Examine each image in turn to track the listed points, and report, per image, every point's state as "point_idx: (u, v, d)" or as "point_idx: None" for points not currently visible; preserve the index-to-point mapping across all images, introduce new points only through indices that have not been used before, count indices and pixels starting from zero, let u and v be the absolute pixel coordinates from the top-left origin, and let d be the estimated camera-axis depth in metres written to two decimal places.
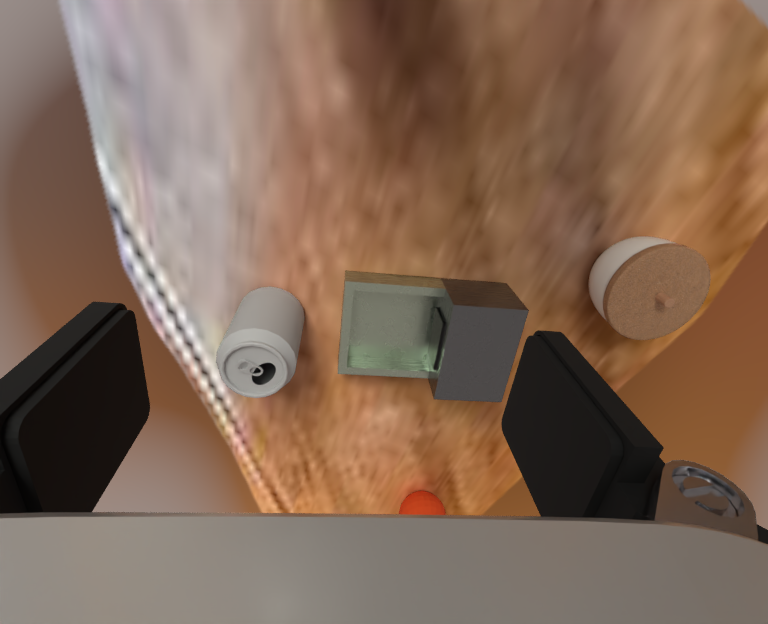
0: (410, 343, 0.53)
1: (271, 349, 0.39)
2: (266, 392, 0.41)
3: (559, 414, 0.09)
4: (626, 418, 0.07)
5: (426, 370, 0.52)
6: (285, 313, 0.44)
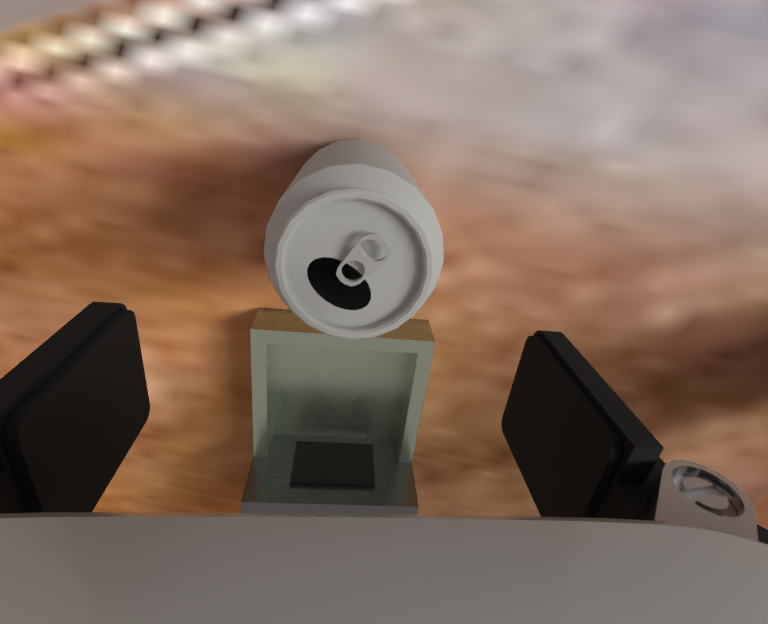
0: (302, 411, 0.34)
1: (413, 312, 0.18)
2: (290, 290, 0.17)
3: (559, 414, 0.09)
4: (626, 418, 0.07)
5: (267, 451, 0.32)
6: None
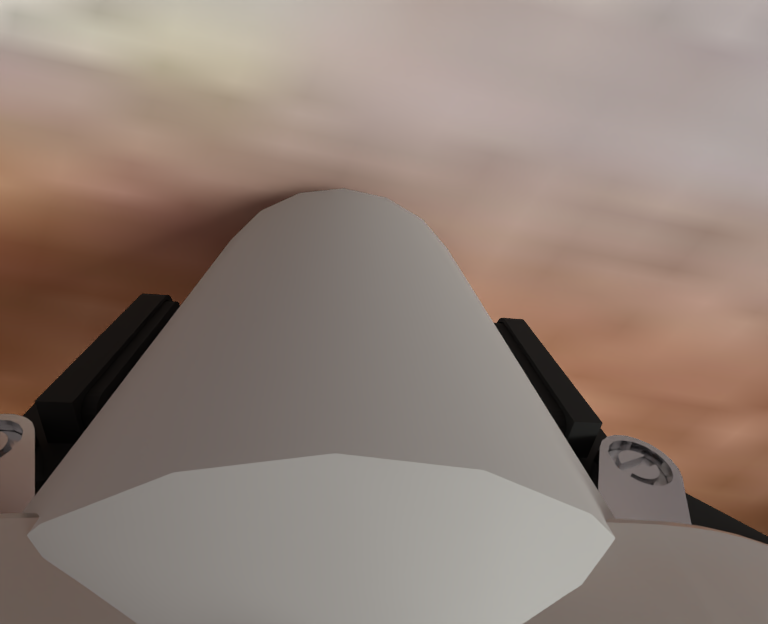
0: None
1: None
2: None
3: None
4: (571, 397, 0.08)
5: None
6: None
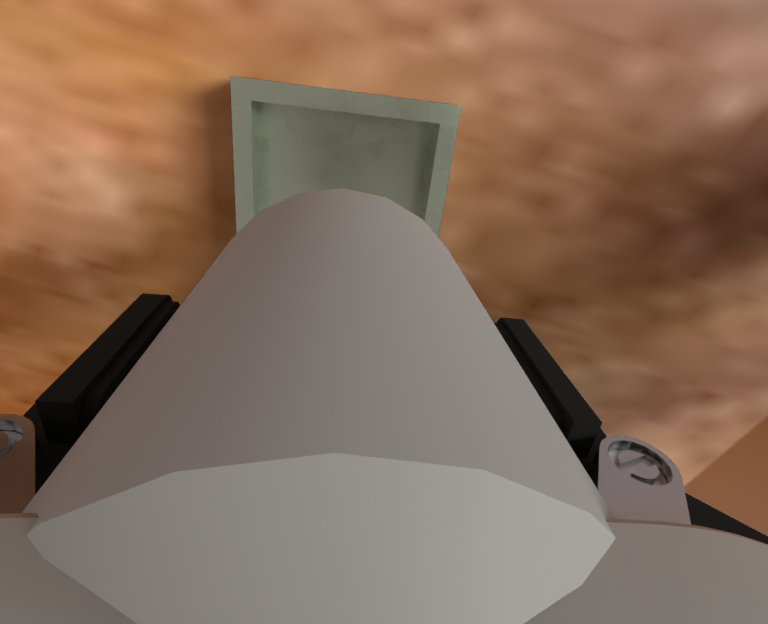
0: None
1: None
2: None
3: None
4: (571, 397, 0.08)
5: None
6: None
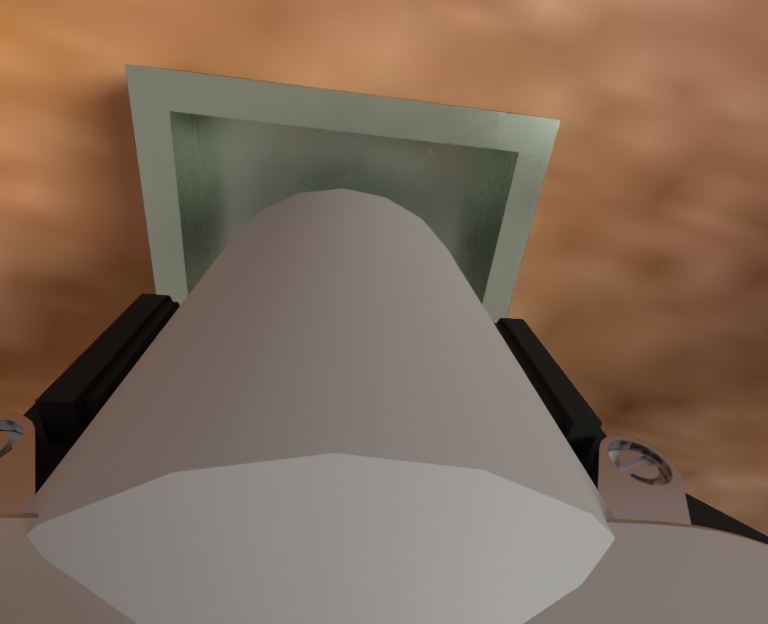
0: None
1: None
2: None
3: None
4: (571, 397, 0.08)
5: None
6: None
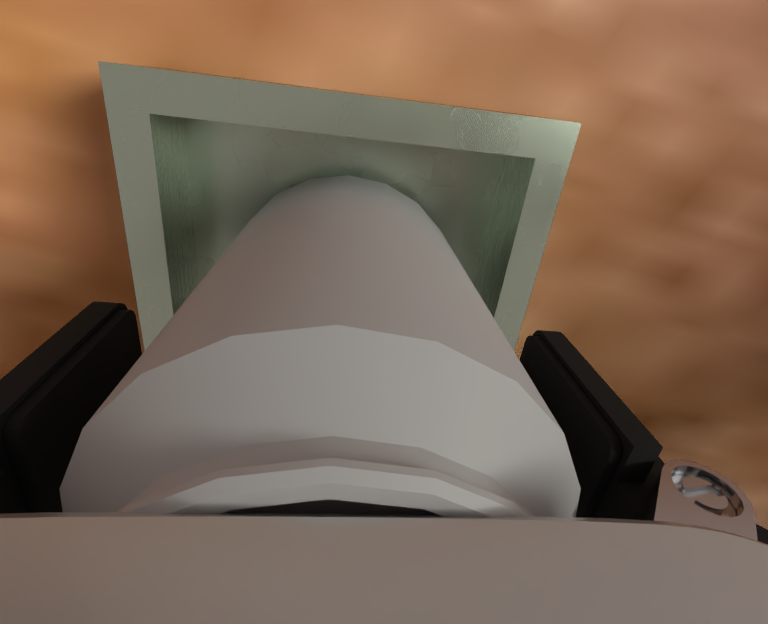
0: None
1: None
2: None
3: (558, 414, 0.09)
4: (625, 418, 0.07)
5: None
6: None
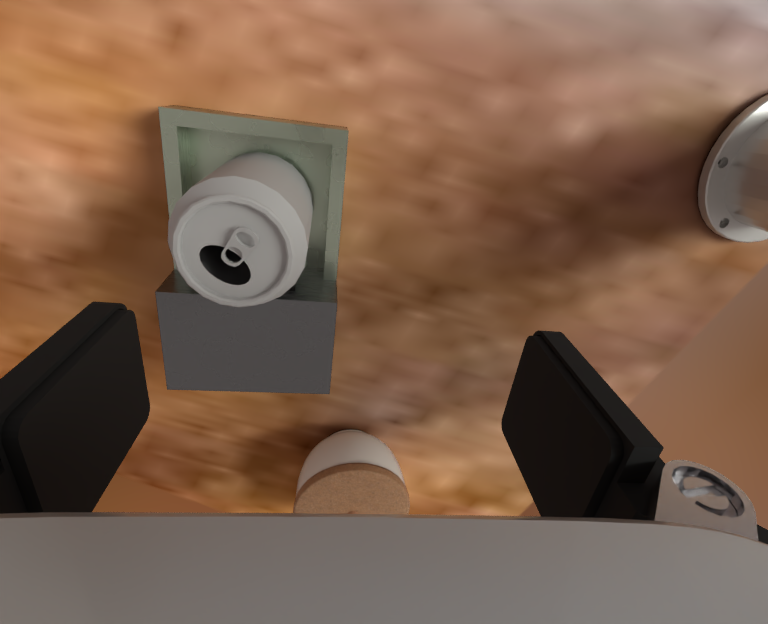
0: None
1: (282, 286, 0.24)
2: (186, 270, 0.23)
3: (559, 414, 0.09)
4: (626, 418, 0.07)
5: None
6: None
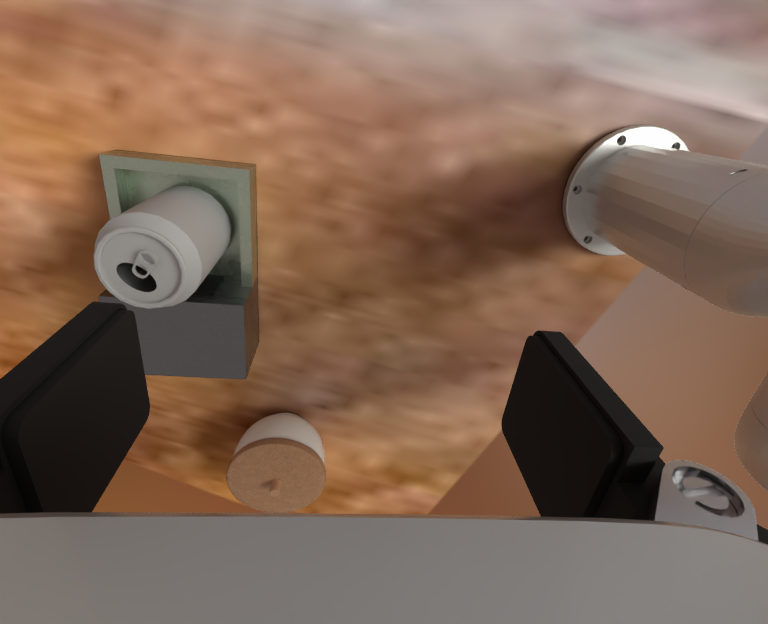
0: None
1: (179, 293, 0.32)
2: (107, 281, 0.31)
3: (559, 414, 0.09)
4: (626, 418, 0.07)
5: None
6: (211, 269, 0.37)
